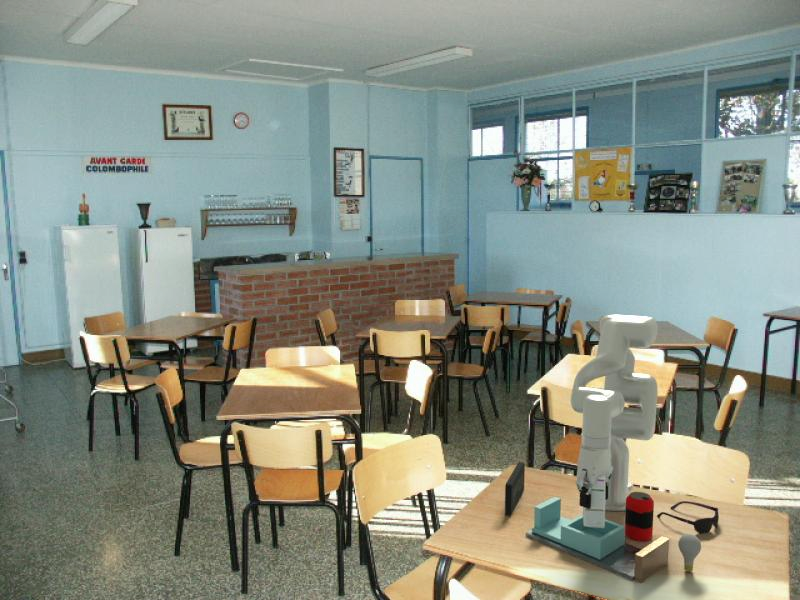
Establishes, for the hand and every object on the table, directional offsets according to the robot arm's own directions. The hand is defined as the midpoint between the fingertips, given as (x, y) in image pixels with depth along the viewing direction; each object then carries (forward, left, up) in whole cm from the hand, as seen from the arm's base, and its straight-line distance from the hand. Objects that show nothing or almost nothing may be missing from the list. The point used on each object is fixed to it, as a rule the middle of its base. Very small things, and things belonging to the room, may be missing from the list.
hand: (593, 502), depth 198 cm
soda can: (-16, +5, -14) cm, 22 cm away
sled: (0, -5, -12) cm, 13 cm away
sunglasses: (-35, +10, -14) cm, 39 cm away
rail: (0, 0, -13) cm, 13 cm away
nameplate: (-9, -34, -14) cm, 37 cm away
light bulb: (-7, +24, -14) cm, 28 cm away
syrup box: (0, 0, -6) cm, 6 cm away
